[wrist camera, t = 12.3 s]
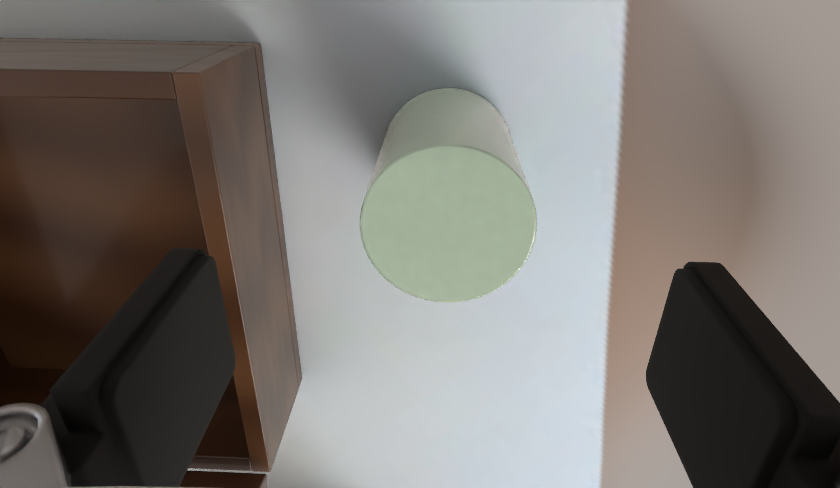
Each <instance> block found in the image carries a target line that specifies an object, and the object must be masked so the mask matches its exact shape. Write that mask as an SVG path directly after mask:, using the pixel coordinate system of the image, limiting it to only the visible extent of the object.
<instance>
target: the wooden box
mask: <svg viewBox="0 0 840 488" xmlns="http://www.w3.org/2000/svg"><path fill="white" fill-rule="evenodd" d="M173 248H191V249H203V250H204V251H205V252H206V254H207V256H212V257H213V258H214V259H215V262H216V266H217V271H218V276H219V281H220V285H221V290H222V295H223V300H224V304H225V309H226V314H227V319H228V324H229V328H230V333H231V338H232V343H233V348H234V352H235V369H234V373H233V375H232V377H231V379H230V382H229V384H228V386H227V388H226V390H225V392H224V394H223V396H222V398H221V400H220V402H219V404H218V407H217V409H216V411H215V413H214V415H213V417H212V419H211V421H210V423H209V425H208V427H207V430H206V432H205V434H204V436H203V438H202V440H201V442H200V444H199V446H198V448H197V450H196V452H195V455H194V457H193V459H192V461H191V463H190V465H189V467H188V468H198V469H221V470H243V471H260V472H270V471H271V469H272V466H273V463H274V460H275V457H276V454H277V451H278V448H279V445H280V442H281V439H282V436H283V433H284V430H285V427H286V424H287V422H288V419H289V416H290V413H291V410H292V407H293V404H294V401H295V398H296V395H297V392H298V388H299V386H300V383H301V380H302V375H301V366H300V358H299V350H298V342H297V334H296V326H295V318H294V310H293V302H292V294H291V285H290V277H289V269H288V261H287V253H286V245H285V237H284V229H283V221H282V212H281V204H280V196H279V188H278V180H277V172H276V164H275V156H274V148H273V140H272V131H271V123H270V115H269V107H268V99H267V91H266V83H265V75H264V67H263V58H262V50H261V44H260V43H254V42H196V41H139V40H82V39H24V38H0V407H1V406H4V405H7V404H16V403H31V404H37V405H39V406H40V405H41V404H42V403H43V402H44V401H45V400H46V398H47V397H48V396H49V395H50V394H51V392H50V389H51V387H52V386H53V385H54V384H55V383H56V382H57V380H58V379H59V378H60V377H61V376H62V375H63V374H64V372H65V371H66V370H67V369H68V368H69V367H70V365H71V364H72V363H73V362H74V361H75V360H76V359H77V357H78V356H79V355H80V354H81V353H82V352H83V350H84V349H85V348H86V347H87V346H88V345H89V344H90V342H91V341H92V340H93V339H94V338H95V337H96V335H97V334H98V333H99V332H100V331H101V330H102V329H103V327H104V326H105V325H106V324H107V323H108V322H109V320H110V319H111V318H112V317H113V316H114V315H115V314H116V312H117V311H118V310H119V309H120V308H121V307H122V306H123V304H124V303H125V302H126V301H127V300H128V299H129V297H130V296H131V295H132V294H133V293H134V292H135V291H136V289H137V288H138V287H139V286H140V285H141V284H142V282H143V281H144V280H145V279H146V278H147V277H148V276H149V274H150V273H151V272H152V271H153V270H154V269H155V267H156V266H157V265H158V264H159V263H160V262H161V261H162V259H163V258H164V257H165V256H166V255H167V254H168V252H169V251H170V250H172V249H173Z"/></svg>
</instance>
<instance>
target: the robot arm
mask: <svg viewBox="0 0 840 488" xmlns="http://www.w3.org/2000/svg"><path fill="white" fill-rule="evenodd" d="M234 369H235V352H234V348H233V343H232V338H231V333H230V328H229V324H228V319H227V314H226V309H225V304H224V300H223V295H222V290H221V285H220V281H219V276H218V271H217V266H216V262H215V259H214V258H213V257H212V256H207V254H206V252H205V251H204V250H203V249H191V248H173V249H172V250H170V251H169V252H168V254H167V255H166V256H165V257H164V258H163V259H162V261H161V262H160V263H159V264H158V265H157V266H156V267H155V269H154V270H153V271H152V272H151V273H150V274H149V276H148V277H147V278H146V279H145V280H144V281H143V282H142V284H141V285H140V286H139V287H138V288H137V289H136V291H135V292H134V293H133V294H132V295H131V296H130V297H129V299H128V300H127V301H126V302H125V303H124V304H123V306H122V307H121V308H120V309H119V310H118V311H117V312H116V314H115V315H114V316H113V317H112V318H111V319H110V320H109V322H108V323H107V324H106V325H105V326H104V327H103V329H102V330H101V331H100V332H99V333H98V334H97V335H96V337H95V338H94V339H93V340H92V341H91V342H90V344H89V345H88V346H87V347H86V348H85V349H84V350H83V352H82V353H81V354H80V355H79V356H78V357H77V359H76V360H75V361H74V362H73V363H72V364H71V365H70V367H69V368H68V369H67V370H66V371H65V372H64V374H63V375H62V376H61V377H60V378H59V379H58V380H57V382H56V383H55V384H54V385H53V386H52V387H51V389H50V392H51V394H50V395H49V396H48V397H47V398H46V400H45V401H44V402H43V403H42V404H41V405H40V406H39V405H37V404H31V403H16V404H7V405H4V406H1V407H0V488H202V487H179V486H180V484H181V482H182V480H183V477H184V475H185V473H186V471H187V469H188V467H189V465H190V463H191V461H192V459H193V457H194V455H195V452H196V450H197V448H198V446H199V444H200V442H201V440H202V438H203V436H204V434H205V432H206V430H207V427H208V425H209V423H210V421H211V419H212V417H213V415H214V413H215V411H216V409H217V407H218V404H219V402H220V400H221V398H222V396H223V394H224V392H225V390H226V388H227V386H228V384H229V382H230V379H231V377H232V375H233V373H234ZM646 382H647V386H648V389H649V391H650V393H651V395H652V398H653V400H654V402H655V404H656V406H657V409H658V411H659V413H660V415H661V417H662V420H663V422H664V424H665V426H666V428H667V431H668V433H669V435H670V437H671V439H672V442H673V444H674V446H675V448H676V450H677V453H678V455H679V457H680V459H681V461H682V464H683V465H684V468H685V470H686V473H687V475H688V477H689V479H690V481H691V484H692V486H693V488H840V403H839V401H838V400H837V399H836V398H835V397H834V396H833V395H832V393H831V392H830V391H829V390H828V389H827V387H826V386H825V385H824V384H823V383H822V381H821V380H820V379H819V378H818V377H817V376H816V374H815V373H814V372H813V371H812V370H811V369H810V367H809V366H808V365H807V364H806V363H805V361H804V360H803V359H802V358H801V357H800V356H799V354H798V353H797V352H796V351H795V350H794V349H793V347H792V346H791V345H790V344H789V343H788V342H787V340H786V339H785V338H784V337H783V336H782V334H781V333H780V332H779V331H778V330H777V328H776V327H775V326H774V325H773V324H772V323H771V321H770V320H769V319H768V318H767V317H766V316H765V314H764V313H763V312H762V311H761V310H760V308H758V306H757V305H756V304H755V303H754V301H753V300H752V299H751V298H750V297H749V296H748V295H747V293H746V292H745V291H744V290H743V288H742V287H741V286H740V285H739V284H738V283H737V281H736V280H735V279H734V278H733V277H732V276H731V274H730V273H729V272H728V271H727V270H726V269H725V267H724V266H723V265H721V264H720V263H714V262H711V263H710V262H688V263H687V264H686V265H685V266H684V268H683V269H677V270H676V272H675V273H674V276H673V280H672V283H671V286H670V290H669V293H668V297H667V300H666V304H665V307H664V311H663V314H662V318H661V321H660V324H659V328H658V331H657V335H656V338H655V342H654V345H653V349H652V352H651V356H650V359H649V363H648V366H647V370H646Z"/></svg>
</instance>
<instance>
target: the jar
mask: <svg viewBox="0 0 840 488" xmlns="http://www.w3.org/2000/svg"><path fill="white" fill-rule="evenodd" d="M536 228H537V217H536V209H535V205H534V202H533V198H532V195H531V192H530V189H529V187H528V184H527V181H526V178H525V175H524V172H523V169H522V166H521V163H520V161H519V158H518V155H517V152H516V149H515V146H514V143H513V140H512V137H511V135H510V132H509V129H508V127H507V124H506V122H505V120H504V119H503V117H502V115H501V114H500V113H499V111H498V110H497V109H496V108H495V107H494V106H493V105H492V104H491V103H490V102H488V101H487V100H486V99H484V98H483V97H481V96H479V95H477V94H475V93H472V92H470V91H467V90H462V89H457V88H440V89H435V90H430V91H427V92H424V93H422V94H420V95H418V96H416V97H414V98H413V99H411V100H410V101H408V102H407V103H406V104H405V105H404V106H403V107H401V109H400V110H399V111H398V112H397V113H396V114H395V116H394V118H393V119H392V121H391V123H390V125H389V127H388V129H387V132H386V135H385V138H384V141H383V144H382V147H381V150H380V153H379V156H378V159H377V162H376V165H375V168H374V171H373V174H372V177H371V180H370V183H369V186H368V189H367V192H366V195H365V198H364V201H363V205H362V208H361V215H360V231H361V238H362V242H363V245H364V248H365V250H366V253H367V255H368V257H369V259H370V260H371V262H372V264H373V265H374V267H375V268H376V269H377V270H378V272H379V273H380V274H381V275H382V276H383V277H384V278H385V279H386V280H387V281H389V282H390V283H391V284H393V285H394V286H395V287H397V288H398V289H400V290H402V291H404V292H405V293H408V294H410V295H412V296H415V297H418V298H421V299H425V300H430V301H435V302H460V301H467V300H471V299H475V298H479V297H481V296H484V295H486V294H489V293H491V292H493V291H494V290H496V289H498V288H499V287H501V286H502V285H504V284H505V283H507V282H508V281H509V280H510V279H511V278H512V277H513V276H514V275H515V274H516V273H517V272H518V271H519V270H520V269H521V267H522V266H523V264H524V263H525V261H526V260H527V258H528V256H529V254H530V252H531V250H532V247H533V244H534V241H535V235H536Z"/></svg>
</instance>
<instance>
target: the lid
mask: <svg viewBox="0 0 840 488" xmlns="http://www.w3.org/2000/svg"><path fill="white" fill-rule="evenodd" d="M179 487H202V488H267V475H266V474H253V473H231V472H208V471H186V473H185V475H184V477H183V480H182V482H181V484H180V486H179Z"/></svg>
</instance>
